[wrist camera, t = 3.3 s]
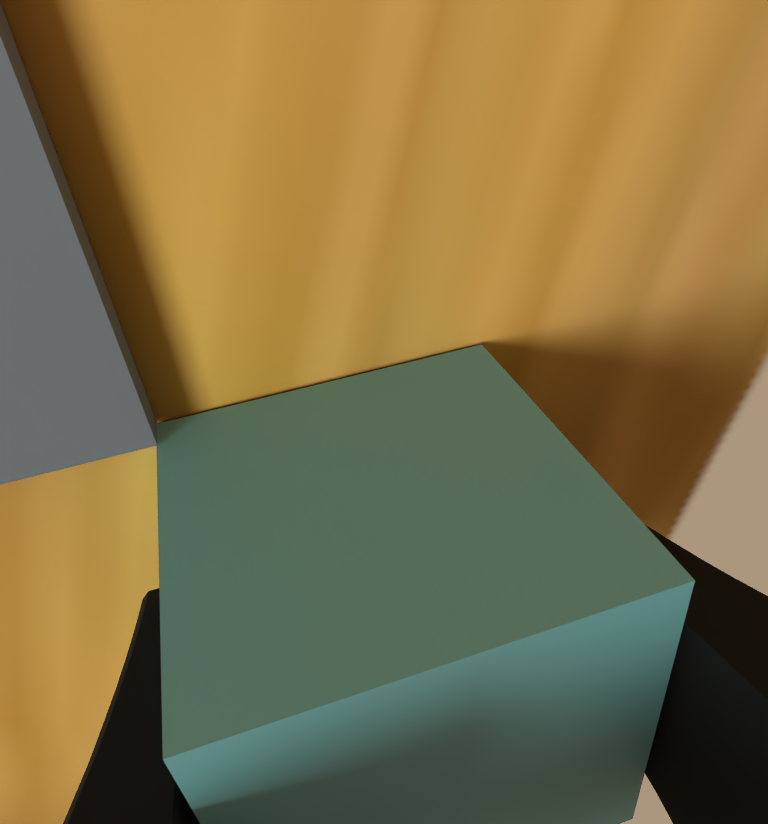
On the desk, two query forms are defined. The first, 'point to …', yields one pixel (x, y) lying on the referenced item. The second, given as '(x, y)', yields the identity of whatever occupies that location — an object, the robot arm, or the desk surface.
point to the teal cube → (405, 608)
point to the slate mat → (54, 309)
